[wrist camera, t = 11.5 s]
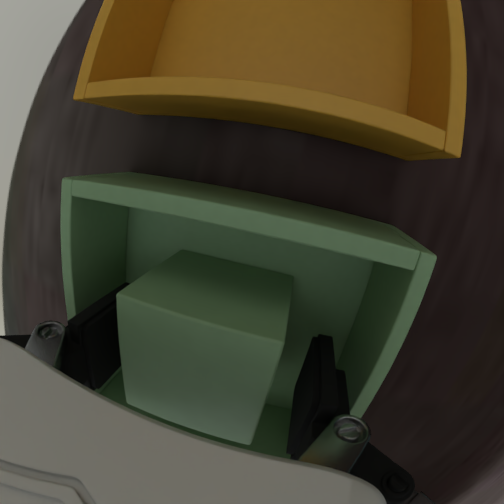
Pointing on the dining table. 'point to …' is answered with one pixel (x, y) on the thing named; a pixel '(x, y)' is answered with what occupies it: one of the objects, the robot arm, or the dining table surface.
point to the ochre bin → (290, 67)
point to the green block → (203, 342)
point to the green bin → (257, 255)
